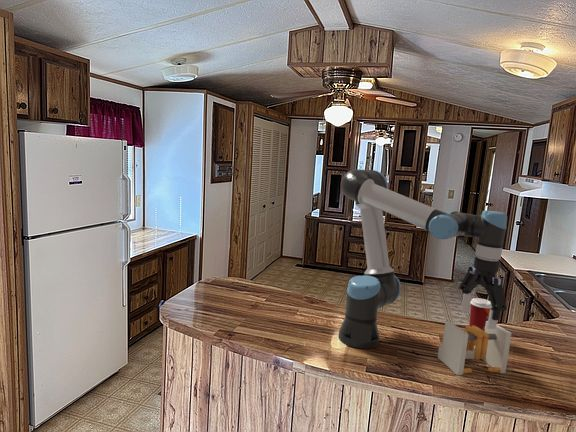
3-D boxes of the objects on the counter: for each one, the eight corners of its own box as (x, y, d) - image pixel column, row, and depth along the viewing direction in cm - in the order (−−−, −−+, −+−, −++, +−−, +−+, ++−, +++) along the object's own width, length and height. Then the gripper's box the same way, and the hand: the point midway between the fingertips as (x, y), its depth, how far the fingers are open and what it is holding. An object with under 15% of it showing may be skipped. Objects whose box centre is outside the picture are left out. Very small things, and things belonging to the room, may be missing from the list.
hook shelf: (457, 375, 129) (463, 334, 127) (437, 357, 140) (442, 319, 138) (505, 373, 132) (511, 333, 130) (481, 356, 143) (487, 319, 142)
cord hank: (486, 359, 131) (490, 334, 130) (476, 359, 130) (479, 334, 129) (471, 348, 139) (474, 324, 138) (461, 348, 138) (464, 324, 137)
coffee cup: (490, 342, 155) (496, 306, 153) (468, 339, 157) (473, 303, 155) (484, 333, 164) (489, 299, 162) (463, 330, 165) (468, 296, 163)
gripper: (527, 269, 119) (514, 336, 122) (473, 249, 143) (463, 305, 146) (505, 269, 117) (493, 336, 120) (454, 248, 141) (445, 305, 145)
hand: (477, 319), depth 133 cm, fingers open, 13 cm apart
